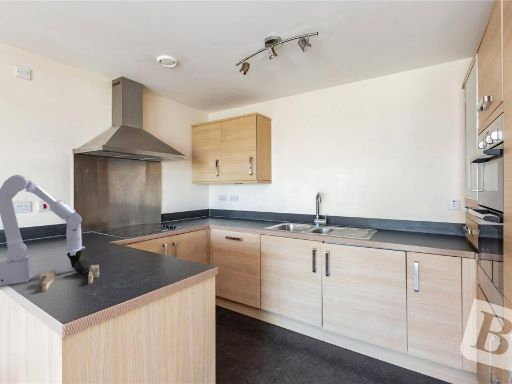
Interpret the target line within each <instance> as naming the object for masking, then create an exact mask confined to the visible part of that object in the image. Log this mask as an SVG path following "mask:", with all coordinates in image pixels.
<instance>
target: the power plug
mask: <svg viewBox="0 0 512 384" xmlns="http://www.w3.org/2000/svg"><path fill="white" fill-rule="evenodd" d="M90 267H91V265H90V262H89V260H87V259H79V260H78V261H77V262H76V263H75V267H74V268H73V270H74V271H75V272H76V274H85V275H87V277H88V276H89V272H90Z"/></svg>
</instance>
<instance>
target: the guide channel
mask: <svg viewBox="0 0 512 384" xmlns="http://www.w3.org/2000/svg"><path fill="white" fill-rule="evenodd" d="M55 278H56V270H55V269H53V270H50V271H43V272H42V273H41V274H40V276H39V286H40V288H41V287H42V288H41V290H42V293H43V292H47V291H48V289H49V288H50V287H51V285H52V283H53V281H54V280H55ZM87 278H88V280H87V281H88V285H90V284H93V281H94V279H96V278H97V279H98V278H100V264H91V265H90V267H89V276H87Z"/></svg>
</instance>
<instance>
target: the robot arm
mask: <svg viewBox="0 0 512 384" xmlns="http://www.w3.org/2000/svg"><path fill="white" fill-rule="evenodd" d="M24 190H25V192H27V193H30V194H34V195H36V196H37V197H38V198H40V199H41V200H42V201H43V202H45V203H46V204H48V205H49V210H50V211H51V212H53V214H55V215H57V217H59V218H60V219H62V220H64V221H65V223H66V231H65V232H66V252H67V254H66V256H67V257H68V259H69V261H70V265H71V268H72V269H74V267H75V263H76V262H77V261H78V260H81V255H82V253H83V249H84V250H85V248H86V247H85V246H83V240H82V239H83V238H82V225H81V223H82V221H83V218H82V216H81V215H80V214H79V213H78V212H76V209H73V208H71V206H69V205H68V203H67V202H66V201H63V200H62V199H61V200H56V199H55V198H54V197H52V196H51V195H50V194H49V193H48V192H47V191H46V190H44V189H43V188H42V187H41V186H39V185H38V184H36V183H35V182H33V181H31V180H29V179H27V178H26V176H23V175H20V174H13V175H12V176H10V177H8V178H7V179H6V180H4V181H3V182H2V185H1V187H0V219H1V222H2V228H3V231H4V235H5V239H6V247H7V250H6V252H5V253H6V254H5V255H6V259H5V260H4V261H0V287H1V286H10V285H14V284H23V283H28V282H29V281H30V280H31V279H32V278H33V276H34V275H31V274H30V259H29V256H27V253H28V247H27V245H26V244H25V243H24V242H23V239H22V235H21V231H20V227H19V222H18V218H17V215H16V214H17V213H16V211H15V210H16V209H15V205H14V202H13V198H14V197H15V196H16V195H18V193H19V192H21V191H24Z"/></svg>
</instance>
